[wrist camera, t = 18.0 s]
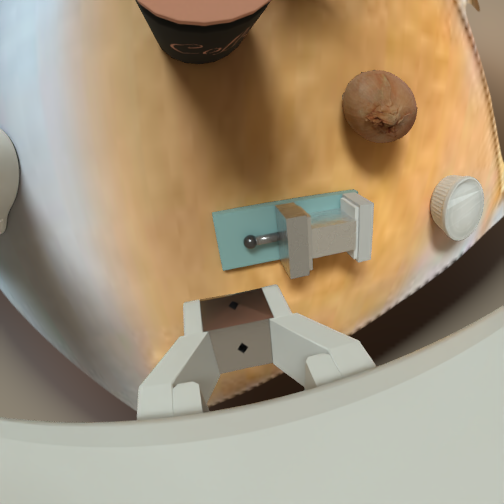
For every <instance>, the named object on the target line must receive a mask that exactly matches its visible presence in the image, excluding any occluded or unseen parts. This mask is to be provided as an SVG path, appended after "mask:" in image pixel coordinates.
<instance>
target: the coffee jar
mask: <svg viewBox="0 0 504 504" xmlns="http://www.w3.org/2000/svg"><path fill="white" fill-rule="evenodd" d="M270 1H271V0H136V2H137V4H138V6H139V8H140V10H141V12H142V14H143V15H144V17H145V19H146V21H147V23H148V25H149V27H150V29H151V30H152V32H153V34H154V36H155V38H156V40H157V42H158V43H159V45H160V47H161V48H162V50H163V51H165V52H166V53H167V54H168V55H170V56H171V57H172V58H174V59H177V60H180V61H182V62H185V63H194V64H203V63H208V62H214V61H217V60H219V59H221V58H223V57H225V56H227V55H229V54H230V53H231V52H232V51H233V50H234V49H235V48H237V47H238V46H239V44H240V43H241V41H242V40H243V38H244V37H245V36H246V34H247V33H248V31H249V30H250V29H251V27H252V26H253V25H254V23H255V22H256V21H257V19H258V18H259V17H260V15H261V14H262V13H263V11H264V10H265V9H266V7H267V6H268V4H269V3H270Z"/></svg>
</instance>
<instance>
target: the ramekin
mask: <svg viewBox="0 0 504 504" xmlns="http://www.w3.org/2000/svg"><path fill="white" fill-rule="evenodd" d="M483 207H484V193H483V189H482V186H481V184H480V183H479V181H478V180H477V179H475V178H473V177H471V176H457V175H450V176H447V177H445V178H443V179H442V180H441V181H440V182H439V183H438V184H437V186H436V187H435V189H434V191H433V194H432V197H431V203H430V208H431V215H432V218H433V220H434V222H435V223H436V224H437V225H438V226H439V227H440V228H441V229H442V230H443V231H444V232H445V233H446V235H447V236H448V237H449V238H451V239H452V240H455V241H460V240H463V239H465V238H467V237H468V236H469V235H470V234H472V232H473V231H474V230H475V229H476V227H477V225H478V223H479V221H480V218H481V216H482V212H483Z"/></svg>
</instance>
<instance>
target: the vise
mask: <svg viewBox="0 0 504 504" xmlns="http://www.w3.org/2000/svg"><path fill="white" fill-rule="evenodd" d="M292 202H294V203H295V204H296V205H297V206H298V205H299V206H301V207H302V208H303V209H304V210H305V211H306V212H307V213H311V212H317V211H323V210H329V209H335V208H340V209H342V210H343V211H344V212H346V213H347V214H348V215H350V216H351V217H352V218H354V219H355V220H356V249H355V250H350V251H346V252H347V253H348V254H349V255H350V256H351V257H352V258H353V259H355V260H356V261H357V262H362V261H366V260H370V259H371V249H372V233H373V209H374V203H372V202H371V201H369V200H367V199H366V198H364V197H362V196H361V195H359V194H358V191H356V190H354V189H353V190H346V191H339V192H332V193H325V194H318V195H312V196H305V197H299V198H292V199H286V200H280V201H274V202H268V203H262V204H257V205H251V206H245V207H240V208H234V209H229V210H223V211H218V212H213V213H212V216H213V221H214V226H215V232H216V237H217V242H218V248H219V253H220V258H221V263H222V268H223V271H224V270H229V269H234V268H239V267H244V266H249V265H254V264H259V263H264V262H269V261H274V260H279V259H280V255H279V244H278V241H277V242H272V243H267V244H262V245H256V247H255V248H253V249H248V248H246V247H245V246H244V244H243V240H244V238H245V237H246V236H247V235H253V236H259V235H264V234H269V233H275V232H277V222H276V212H275V205H280V204H286V203H292Z"/></svg>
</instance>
